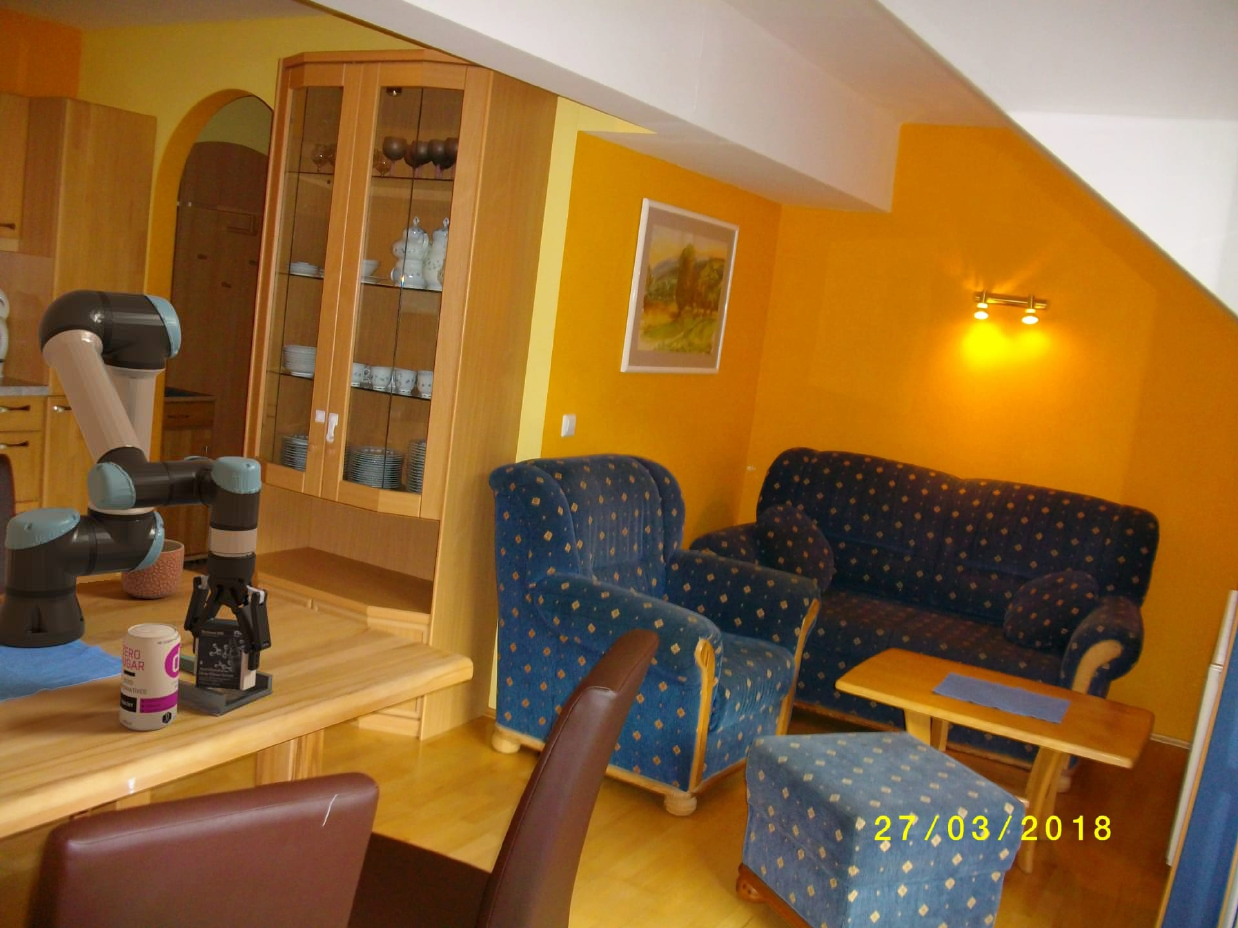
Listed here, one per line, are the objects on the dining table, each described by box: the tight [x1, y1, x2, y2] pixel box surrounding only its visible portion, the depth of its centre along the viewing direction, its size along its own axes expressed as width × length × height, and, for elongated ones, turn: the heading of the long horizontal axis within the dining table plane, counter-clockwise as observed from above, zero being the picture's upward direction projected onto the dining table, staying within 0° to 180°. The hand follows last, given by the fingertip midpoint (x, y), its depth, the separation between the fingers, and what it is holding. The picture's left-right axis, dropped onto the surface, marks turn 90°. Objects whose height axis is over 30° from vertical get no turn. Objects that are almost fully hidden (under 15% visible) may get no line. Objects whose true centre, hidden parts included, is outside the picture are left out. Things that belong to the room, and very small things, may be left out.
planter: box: [120, 538, 185, 600], centre depth 224 cm, size 12×12×11 cm
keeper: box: [177, 669, 274, 717], centre depth 176 cm, size 10×13×3 cm
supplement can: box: [118, 622, 182, 732], centre depth 163 cm, size 8×8×15 cm
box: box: [195, 617, 254, 691], centre depth 175 cm, size 8×6×11 cm
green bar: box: [179, 652, 195, 673], centre depth 187 cm, size 14×2×2 cm, turn 68°
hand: (224, 680), depth 176 cm, fingers closed on box, 9 cm apart
